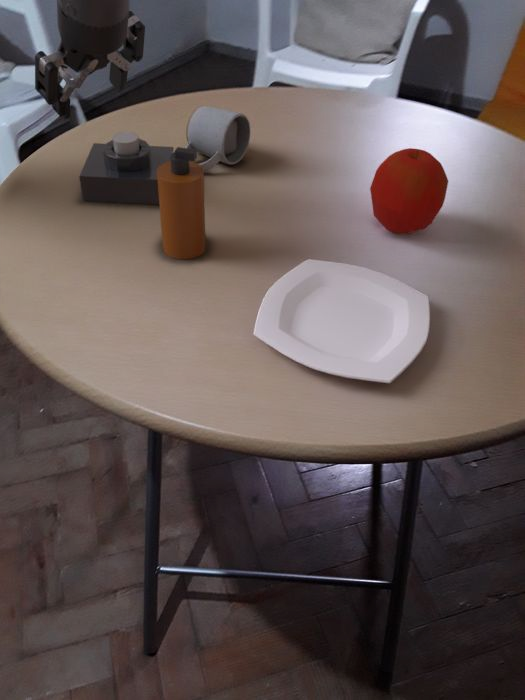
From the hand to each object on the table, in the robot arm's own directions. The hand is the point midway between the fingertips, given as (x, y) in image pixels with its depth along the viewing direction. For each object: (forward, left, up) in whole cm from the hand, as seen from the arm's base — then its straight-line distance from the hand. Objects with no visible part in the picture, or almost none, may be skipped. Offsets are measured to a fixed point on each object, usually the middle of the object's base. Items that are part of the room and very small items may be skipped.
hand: (90, 99), depth 81 cm
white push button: (+2, +4, -9) cm, 10 cm away
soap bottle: (+15, -8, -14) cm, 22 cm away
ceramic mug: (+11, +16, -14) cm, 24 cm away
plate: (+38, -17, -14) cm, 44 cm away
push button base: (+2, +4, -14) cm, 15 cm away
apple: (+42, +7, -14) cm, 45 cm away
